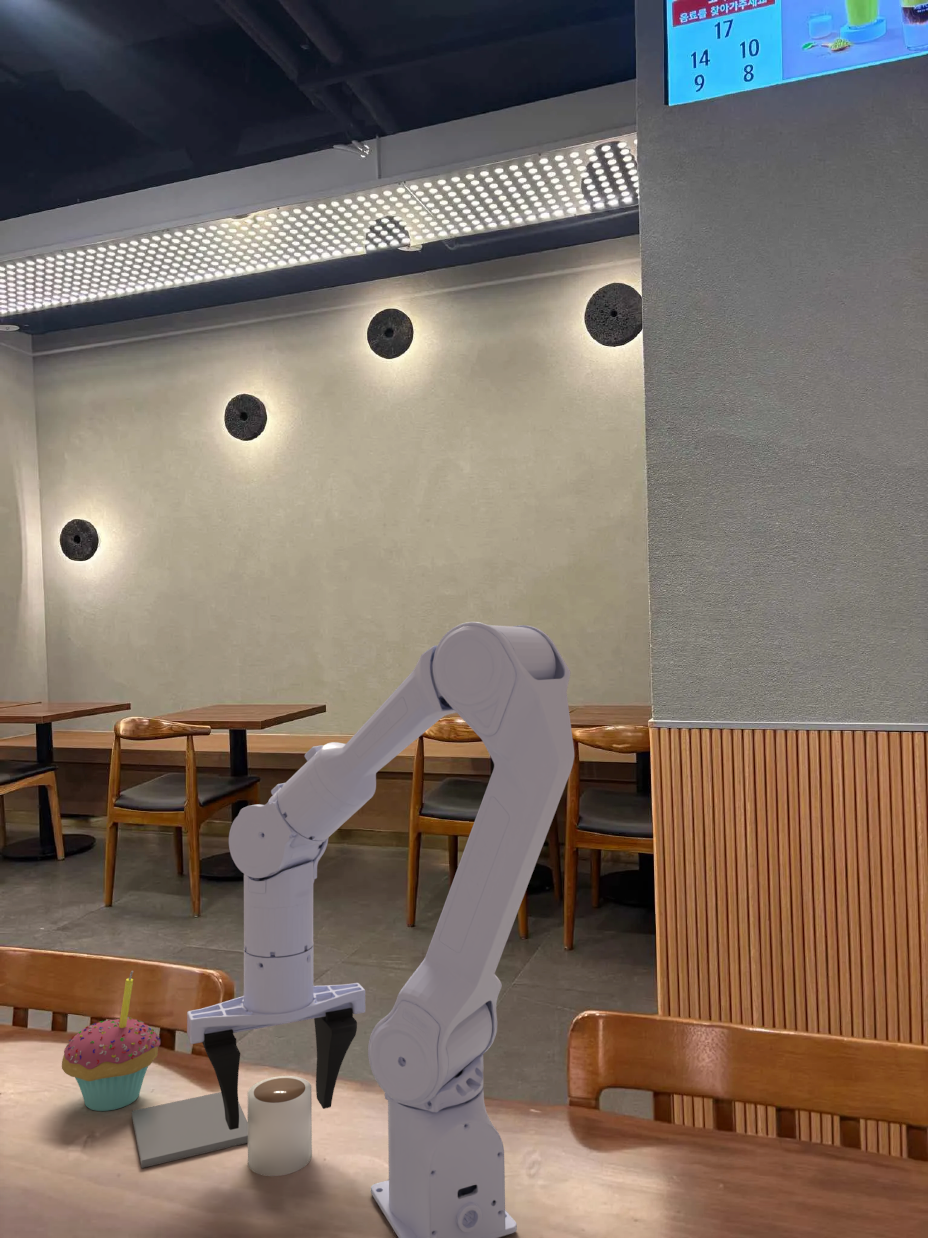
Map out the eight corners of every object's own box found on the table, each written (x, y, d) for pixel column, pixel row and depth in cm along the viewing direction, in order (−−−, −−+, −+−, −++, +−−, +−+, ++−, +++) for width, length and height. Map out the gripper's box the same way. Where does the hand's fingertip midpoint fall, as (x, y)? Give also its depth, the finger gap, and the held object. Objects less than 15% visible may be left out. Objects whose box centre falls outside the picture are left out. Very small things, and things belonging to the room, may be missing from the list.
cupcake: (173, 1080, 88) (173, 956, 89) (133, 1125, 80) (133, 987, 80) (90, 1077, 89) (91, 955, 90) (42, 1121, 81) (43, 985, 81)
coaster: (252, 1141, 77) (252, 1134, 77) (141, 1168, 73) (141, 1160, 73) (233, 1096, 85) (233, 1089, 85) (132, 1117, 81) (132, 1111, 81)
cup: (319, 1166, 73) (318, 1096, 73) (255, 1183, 71) (254, 1111, 71) (302, 1136, 78) (302, 1070, 78) (241, 1150, 75) (241, 1083, 76)
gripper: (347, 922, 82) (348, 1075, 81) (182, 945, 76) (181, 1110, 75) (373, 944, 75) (374, 1110, 75) (194, 971, 69) (194, 1152, 69)
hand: (278, 1113), depth 74 cm, fingers open, 7 cm apart
